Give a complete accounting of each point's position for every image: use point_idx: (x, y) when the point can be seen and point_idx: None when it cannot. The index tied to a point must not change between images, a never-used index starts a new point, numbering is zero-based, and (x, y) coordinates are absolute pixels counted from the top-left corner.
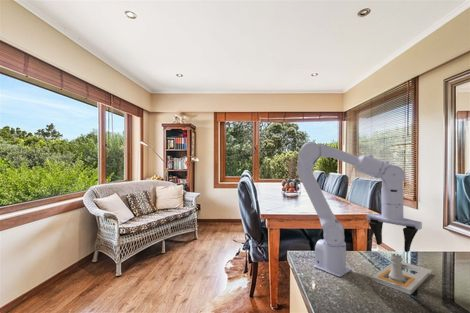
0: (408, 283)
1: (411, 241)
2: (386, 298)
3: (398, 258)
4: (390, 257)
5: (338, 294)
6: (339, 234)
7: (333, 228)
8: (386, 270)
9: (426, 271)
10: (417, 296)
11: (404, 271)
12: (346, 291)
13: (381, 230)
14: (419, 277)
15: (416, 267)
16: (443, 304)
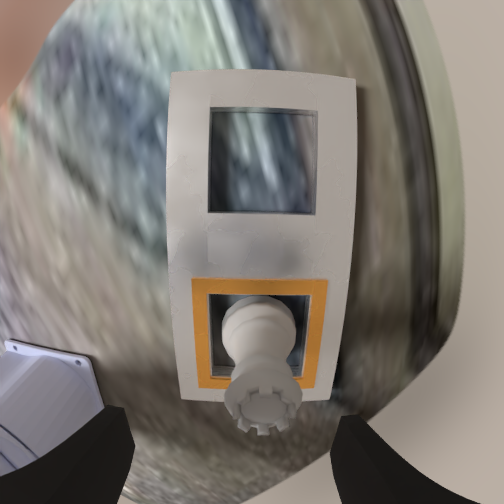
0: (316, 361)
1: (403, 469)
2: (272, 451)
3: (282, 422)
4: (230, 413)
5: (179, 490)
6: None
7: None
8: (192, 295)
9: (347, 121)
10: (345, 381)
11: (262, 219)
12: (181, 476)
13: (65, 493)
14: (340, 241)
15: (292, 96)
16: (410, 364)
